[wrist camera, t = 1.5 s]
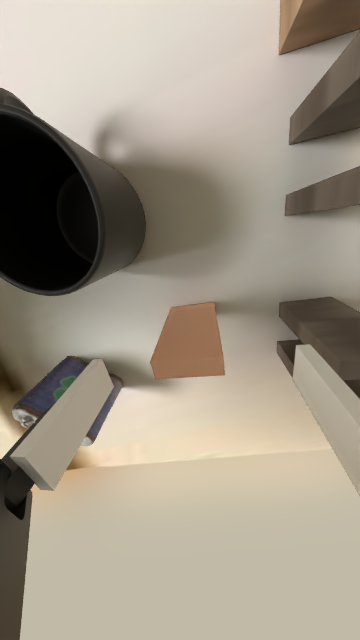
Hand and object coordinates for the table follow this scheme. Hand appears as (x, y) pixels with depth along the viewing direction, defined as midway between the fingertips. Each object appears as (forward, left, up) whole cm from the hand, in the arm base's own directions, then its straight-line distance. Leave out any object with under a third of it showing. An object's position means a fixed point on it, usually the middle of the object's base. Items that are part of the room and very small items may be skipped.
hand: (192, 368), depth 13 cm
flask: (-16, -8, -10) cm, 21 cm away
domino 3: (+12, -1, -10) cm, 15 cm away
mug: (-8, +12, -10) cm, 18 cm away
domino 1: (0, 0, -10) cm, 10 cm away
